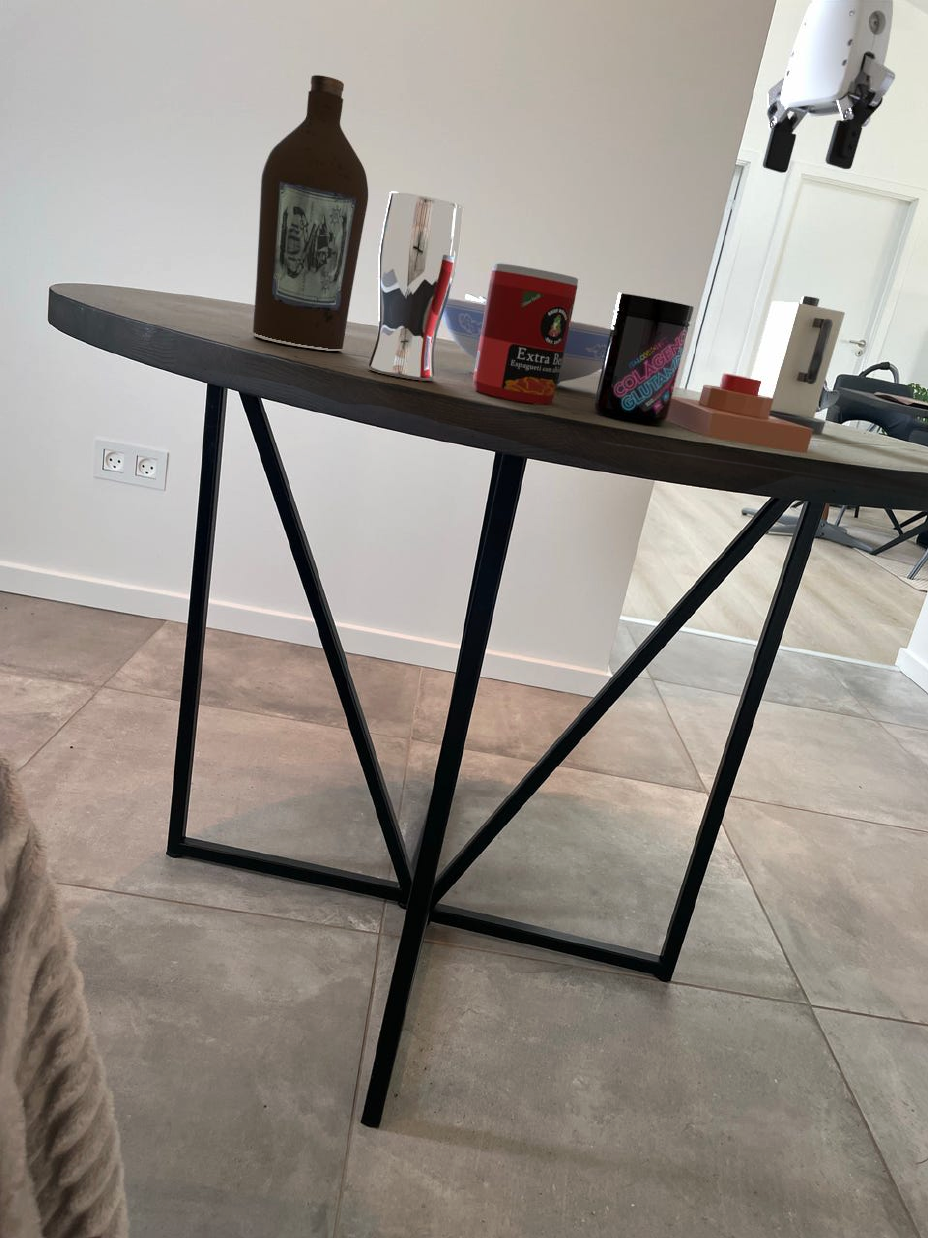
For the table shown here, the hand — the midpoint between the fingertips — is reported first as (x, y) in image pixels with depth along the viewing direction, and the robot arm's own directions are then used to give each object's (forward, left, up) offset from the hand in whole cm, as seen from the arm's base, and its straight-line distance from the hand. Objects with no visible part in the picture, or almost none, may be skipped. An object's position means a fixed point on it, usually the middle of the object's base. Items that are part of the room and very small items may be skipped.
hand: (804, 167), depth 101 cm
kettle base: (-5, -1, -27) cm, 28 cm away
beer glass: (+43, +15, -28) cm, 53 cm away
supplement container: (+23, +22, -28) cm, 42 cm away
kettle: (-5, 0, -26) cm, 26 cm away
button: (+12, +21, -24) cm, 33 cm away
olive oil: (+52, -1, -28) cm, 59 cm away
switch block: (+12, +20, -27) cm, 36 cm away
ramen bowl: (+26, -4, -28) cm, 38 cm away
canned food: (+33, +18, -28) cm, 47 cm away
